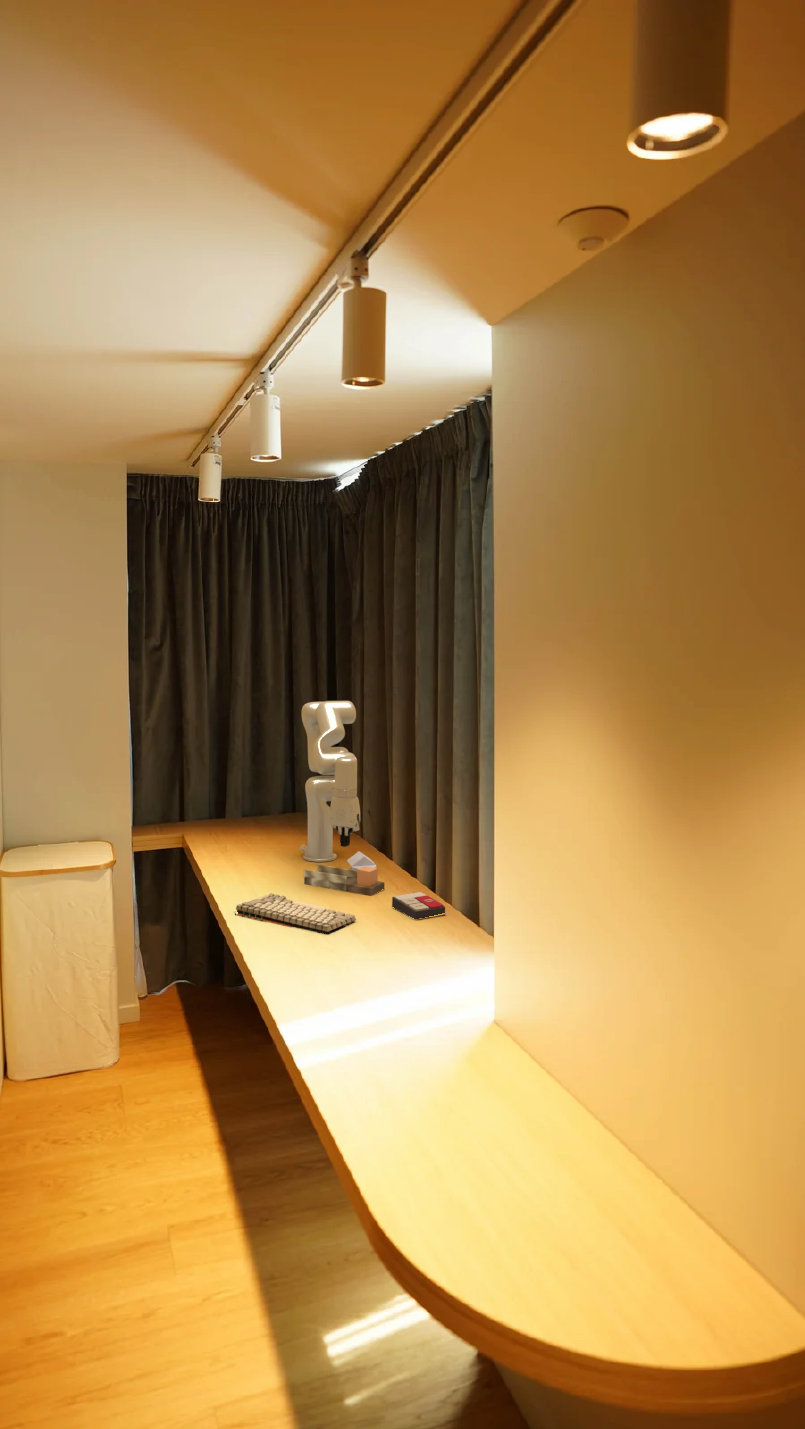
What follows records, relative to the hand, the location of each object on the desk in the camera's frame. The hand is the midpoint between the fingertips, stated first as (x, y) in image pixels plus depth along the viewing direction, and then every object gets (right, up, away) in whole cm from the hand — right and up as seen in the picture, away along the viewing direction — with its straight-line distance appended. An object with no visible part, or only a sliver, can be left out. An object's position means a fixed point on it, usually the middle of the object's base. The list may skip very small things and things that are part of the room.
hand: (345, 845), depth 329 cm
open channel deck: (-1, -14, +1) cm, 14 cm away
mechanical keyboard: (-13, -18, -32) cm, 39 cm away
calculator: (+25, -18, -25) cm, 39 cm away
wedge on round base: (+5, -13, +18) cm, 23 cm away
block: (+8, -12, -4) cm, 15 cm away
